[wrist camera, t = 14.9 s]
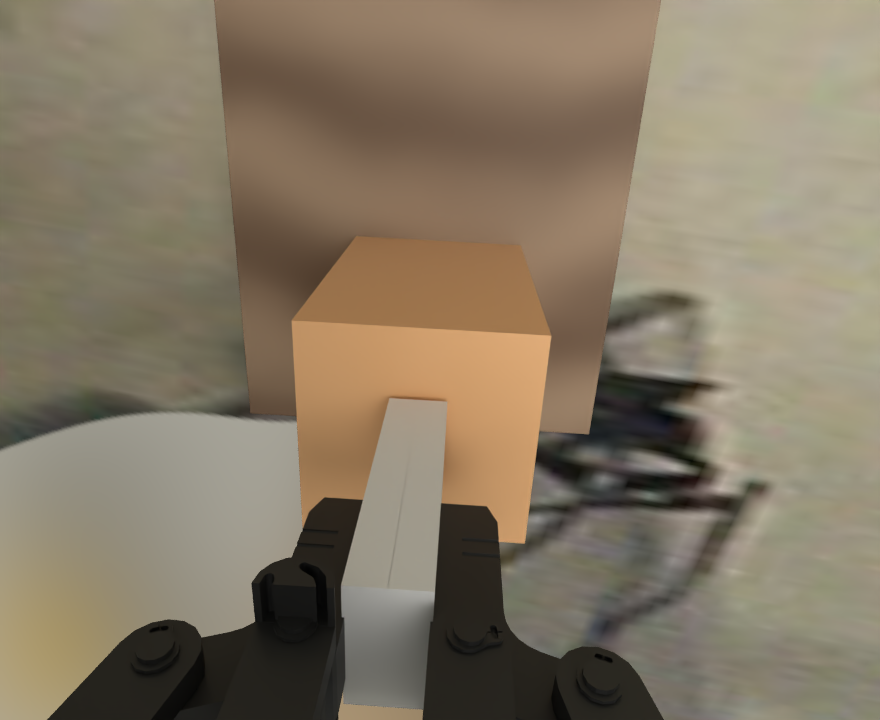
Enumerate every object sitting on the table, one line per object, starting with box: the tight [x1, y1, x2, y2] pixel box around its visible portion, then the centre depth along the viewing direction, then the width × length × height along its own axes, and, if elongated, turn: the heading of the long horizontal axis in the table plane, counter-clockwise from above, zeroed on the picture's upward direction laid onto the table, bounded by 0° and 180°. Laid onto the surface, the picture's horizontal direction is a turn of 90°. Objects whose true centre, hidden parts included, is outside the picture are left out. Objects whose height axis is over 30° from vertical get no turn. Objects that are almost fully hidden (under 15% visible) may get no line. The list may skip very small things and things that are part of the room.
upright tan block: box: [292, 236, 551, 543], centre depth 21 cm, size 6×6×10 cm
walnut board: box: [214, 0, 661, 434], centre depth 23 cm, size 26×15×2 cm, turn 177°
